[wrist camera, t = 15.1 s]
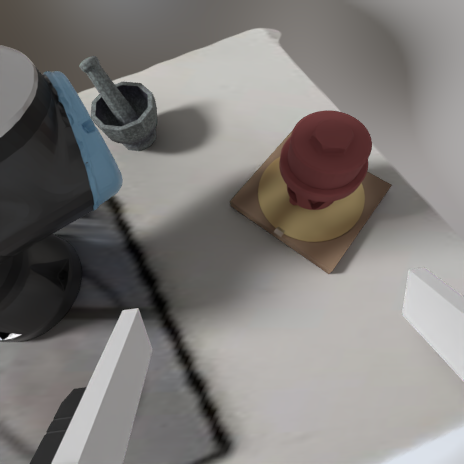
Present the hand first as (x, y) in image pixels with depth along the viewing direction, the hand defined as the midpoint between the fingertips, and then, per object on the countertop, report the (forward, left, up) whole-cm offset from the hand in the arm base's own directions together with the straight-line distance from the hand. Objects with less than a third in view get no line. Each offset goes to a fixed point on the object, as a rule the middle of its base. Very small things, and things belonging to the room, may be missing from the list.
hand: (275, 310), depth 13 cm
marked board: (-6, +19, -23) cm, 30 cm away
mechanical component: (-6, +19, -21) cm, 29 cm away
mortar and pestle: (-36, +12, -23) cm, 45 cm away
